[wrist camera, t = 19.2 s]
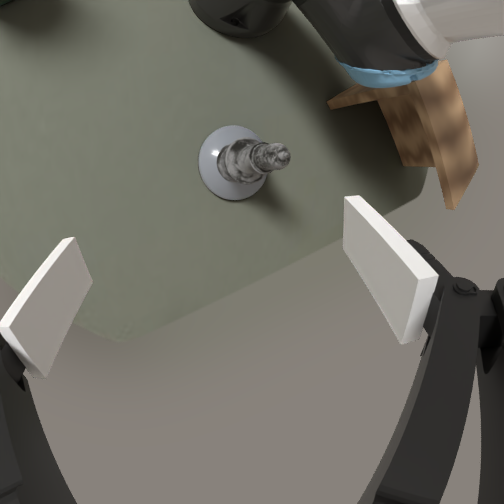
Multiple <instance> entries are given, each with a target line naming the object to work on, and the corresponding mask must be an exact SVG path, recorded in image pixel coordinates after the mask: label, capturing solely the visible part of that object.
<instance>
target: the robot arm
mask: <svg viewBox="0 0 504 504" xmlns="http://www.w3.org/2000/svg"><path fill="white" fill-rule="evenodd" d="M292 1H293V2H294V3H295V5H296V6H297V7H298V8H299V10H300V11H301V12H302V13H303V14H304V16H305V17H306V18H307V19H308V21H309V22H310V23H311V24H312V26H313V27H314V28H315V29H316V31H317V32H318V33H319V35H320V36H321V37H322V39H323V40H324V41H325V43H326V44H327V45H328V47H329V48H330V49H331V51H332V52H333V54H334V56H335V59H336V60H337V62H339V64H341V65H342V66H343V67H344V68H345V70H346V71H347V72H348V74H349V75H350V77H351V78H352V79H353V80H354V81H356V82H357V83H358V84H360V85H363V86H366V87H370V88H390V87H397V86H402V85H406V84H410V83H411V81H413V80H421V79H423V78H426V77H427V76H429V75H431V74H432V73H433V72H434V71H435V70H436V68H437V66H438V59H443V58H445V57H446V56H447V54H448V51H449V49H450V47H451V44H452V43H454V42H460V41H466V40H472V39H479V38H486V37H494V36H502V35H504V0H189V3H190V5H191V7H192V9H193V11H194V12H195V14H196V15H197V16H198V17H199V18H200V19H201V20H202V21H203V22H204V23H206V24H207V25H208V26H210V27H211V28H213V29H215V30H217V31H219V32H221V33H224V34H227V35H230V36H234V37H240V38H252V37H257V36H261V35H263V34H265V33H267V32H269V31H270V30H271V29H273V28H274V27H276V26H277V25H278V24H279V23H280V22H281V20H282V19H283V17H284V15H285V14H286V12H287V10H288V8H289V6H290V5H291V3H292ZM343 249H344V251H345V253H346V254H347V256H348V257H349V259H350V261H351V262H352V264H353V265H354V267H355V268H356V270H357V272H358V273H359V275H360V276H361V278H362V280H363V281H364V283H365V284H366V286H367V288H368V289H369V291H370V293H371V294H372V296H373V298H374V299H375V301H376V303H377V304H378V306H379V308H380V309H381V311H382V313H383V314H384V316H385V318H386V320H387V321H388V323H389V324H390V326H391V328H392V330H393V332H394V334H395V335H396V337H397V339H398V341H399V343H400V344H401V345H402V344H405V343H409V342H412V341H416V340H419V338H420V335H421V332H422V329H423V327H424V328H425V330H426V332H427V333H428V337H427V340H426V343H425V346H424V348H423V350H422V353H421V355H420V356H422V357H421V360H420V364H419V367H418V370H417V373H416V376H415V379H414V382H413V385H412V388H411V391H410V394H409V396H408V399H407V401H406V404H405V407H404V409H403V412H402V414H401V417H400V419H399V422H398V424H397V426H396V429H395V431H394V434H393V436H392V438H391V440H390V442H389V445H388V447H387V449H386V451H385V453H384V455H383V457H382V459H381V461H380V464H379V466H378V467H377V469H376V471H375V473H374V475H373V477H372V479H371V481H370V483H369V484H368V486H367V488H366V490H365V491H364V493H363V495H362V497H361V499H360V500H359V502H358V503H357V504H439V503H440V500H441V498H442V496H443V493H444V490H445V488H446V485H447V482H448V479H449V477H450V474H451V471H452V468H453V465H454V462H455V458H456V455H457V452H458V449H459V445H460V441H461V438H462V434H463V430H464V426H465V422H466V417H467V413H468V408H469V403H470V398H471V392H472V387H473V380H474V374H475V367H477V376H478V385H479V395H480V410H481V471H480V485H479V497H478V504H504V278H501V279H499V280H498V281H497V284H496V286H495V289H494V290H493V291H492V290H490V291H489V290H479V288H478V287H477V286H476V284H475V283H473V282H472V281H470V280H468V279H465V278H461V277H453V276H452V275H451V274H450V273H449V272H448V271H447V270H446V269H445V268H444V267H443V266H442V264H441V263H440V262H439V261H437V260H435V257H434V256H433V255H432V254H430V252H429V251H428V250H427V249H426V248H425V247H424V246H423V245H421V244H419V243H418V242H416V241H414V240H405V239H404V238H403V237H402V236H401V235H400V234H399V233H398V232H397V231H396V230H395V229H394V228H393V227H392V226H391V225H390V224H389V223H388V222H387V221H386V220H385V219H384V218H383V217H382V216H381V215H380V214H379V213H378V212H377V211H376V210H374V209H373V208H372V207H371V206H370V205H369V204H368V203H367V202H366V201H365V200H364V199H363V198H362V197H360V196H359V195H358V196H347V197H344V230H343ZM92 283H93V281H92V278H91V276H90V274H89V271H88V269H87V266H86V264H85V262H84V259H83V257H82V254H81V252H80V249H79V246H78V244H77V241H76V238H75V237H71V238H66V239H63V240H62V241H61V242H60V243H59V245H58V246H57V247H56V248H55V249H54V251H53V252H52V253H51V254H50V255H49V257H48V258H47V259H46V260H45V261H44V263H43V264H42V265H41V266H40V268H39V269H38V270H37V271H36V273H35V274H34V275H33V277H32V278H31V279H30V281H29V282H28V283H27V284H26V286H25V287H24V289H23V290H22V291H21V293H20V294H19V295H18V297H17V298H16V300H15V301H14V302H13V304H12V305H11V307H10V308H9V310H8V311H7V312H6V314H5V315H4V317H3V319H2V320H1V322H0V504H77V503H76V501H75V499H74V497H73V495H72V494H71V492H70V490H69V488H68V486H67V484H66V482H65V480H64V478H63V476H62V474H61V472H60V469H59V467H58V465H57V463H56V460H55V458H54V456H53V454H52V451H51V449H50V446H49V444H48V441H47V439H46V436H45V434H44V431H43V428H42V425H41V423H40V420H39V417H38V414H37V411H36V408H35V405H34V401H33V398H32V395H31V391H30V388H29V384H28V380H27V379H26V377H25V376H24V375H23V372H24V370H25V368H26V369H27V370H28V372H29V373H30V374H31V375H32V377H33V378H41V379H46V378H47V376H48V374H49V371H50V369H51V367H52V364H53V362H54V360H55V357H56V355H57V353H58V351H59V349H60V346H61V344H62V342H63V340H64V338H65V336H66V333H67V331H68V329H69V327H70V325H71V323H72V321H73V319H74V317H75V315H76V313H77V311H78V309H79V307H80V305H81V304H82V302H83V300H84V298H85V296H86V294H87V292H88V290H89V289H90V287H91V285H92Z"/></svg>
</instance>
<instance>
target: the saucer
mask: <svg viewBox="0 0 504 504" xmlns="http://www.w3.org/2000/svg"><path fill="white" fill-rule="evenodd" d="M242 137H250V138H254V139H256V140H258V141H259V142H260V143H261V142H262V141H261V139H260V138H259V137H258V136H257V135H256V134H255V133H254V132H252V131H251V130H249V129H247V128H245V127H241V126H235V125H232V126H225V127H222V128H219V129H217V130H216V131H214V132H213V133H211V134H210V135H209V136H208V137H207V138H206V139H205V141H204V142H203V144H202V146H201V148H200V151H199V156H198V168H199V173H200V176H201V178H202V180H203V182H204V184H205V185H206V187H207V188H208V189H209V190H210V191H211V192H212V193H214V194H215V195H217V196H219V197H221V198H224V199H229V200H240V199H245V198H247V197H249V196H251V195H253V194H254V193H256V192H257V191H258V190H259V189H260V187H261V186H262V185H263V183H264V181H265V179H266V176H267V174H265V176H264V177H263V178H262V179H261V180H260V181H258V182H257V183H254V184H249V185H246V184H241V183H239V182H236V183H234V182H229V181H227V180H225V179H224V178H223V177H222V176H221V174H220V173H219V171H218V168H217V156H218V154H219V152H220V150H221V149H222V148H223V147H224V146H226V145H228V144H231V143H232V142H234V141H235V140H237V139H239V138H242Z"/></svg>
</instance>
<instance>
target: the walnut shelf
mask: <svg viewBox="0 0 504 504" xmlns="http://www.w3.org/2000/svg"><path fill="white" fill-rule="evenodd" d="M374 100H377V101H378V103H379V106H380V108H381V110H382V112H383V115H384V117H385V119H386V122H387V124H388V127H389V129H390V132H391V134H392V137H393V139H394V142H395V144H396V147H397V150H398V152H399V155H400V158H401V161H402V164H403V166H416V167H436V169H437V172H438V177H439V180H440V184H441V188H442V192H443V197H444V201H445V205H446V209H451V210H455V208H456V206H457V205H458V203H459V201H460V199H461V197H462V196H463V194H464V192H465V190H466V189H467V187H468V185H469V183H470V181H471V179H472V177H473V176H474V174H475V172H476V170H477V168H478V166H479V163H478V158H477V154H476V149H475V145H474V141H473V137H472V133H471V129H470V125H469V122H468V118H467V115H466V112H465V109H464V105H463V102H462V99H461V96H460V93H459V90H458V87H457V84H456V82H455V79H454V76H453V74H452V71H451V68H450V66H449V63H448V61H447V60H442V61H438V66H437V68H436V70H435V71H434V72H433V73H432V74H431V75H429V76H427V77H426V78H423V79H421V80H413V81H411V83H410V84H406V85H402V86H397V87H390V88H370V87H366V86H363V85H360V84H358V83H357V84H355V85H354V86H352V87H350V88H349V89H347V90H345V91H343V92H342V93H340V94H338V95H337V96H335V97H333V98H332V99H330V100H328V101H327V104H328V106H329V107H330V109H331V110H333V109H337V108H341V107H346V106H350V105H355V104H359V103H364V102H369V101H374Z"/></svg>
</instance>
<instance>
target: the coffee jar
mask: <svg viewBox="0 0 504 504" xmlns="http://www.w3.org/2000/svg"><path fill="white" fill-rule="evenodd" d="M10 1H12V0H0V6H1V5H3V4H6V3H8V2H10Z"/></svg>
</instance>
